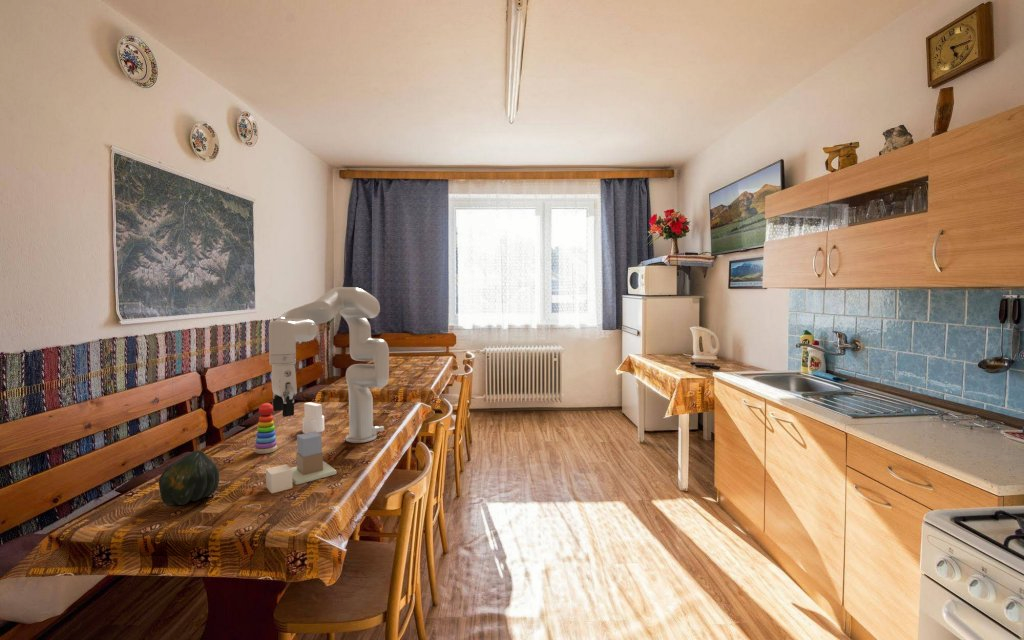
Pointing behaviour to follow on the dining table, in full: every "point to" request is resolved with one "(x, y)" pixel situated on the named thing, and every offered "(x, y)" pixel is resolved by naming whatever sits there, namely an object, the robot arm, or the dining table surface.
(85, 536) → the dining table surface
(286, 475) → the cream brick
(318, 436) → the slate brick
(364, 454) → the dining table surface
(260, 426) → the stacking toy
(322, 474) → the baseplate
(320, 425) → the cylinder with rectangular tab
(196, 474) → the squash
